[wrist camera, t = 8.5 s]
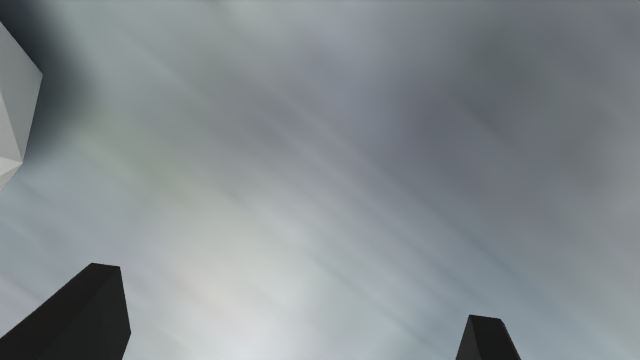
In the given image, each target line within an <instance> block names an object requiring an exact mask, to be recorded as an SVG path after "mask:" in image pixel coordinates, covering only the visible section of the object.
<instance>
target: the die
mask: <svg viewBox="0 0 640 360" xmlns="http://www.w3.org/2000/svg"><path fill="white" fill-rule="evenodd" d="M42 76H43V74H42V73H41V71H40V70H39V69H38V68H37V66H36V65H35V64H34V63H33V62H32V60H31V59H30V58H29V57H28V55H27V54H26V53H25V52H24V50H23V49H22V48H21V47H20V45H19V44H18V43H17V42H16V40H15V39H14V38H13V37H12V36H11V34H10V33H9V32H8V31H7V29H6V28H5V27H4V26H3V24H2V23H1V22H0V191H1V190H2V189H3V188H4V186H5V185H6V184H7V182H8V181H9V180H10V179H11V177H12V176H13V175H14V174H15V172H16V171H17V170H18V168H19V167H20V166H21V165H22V163H23V160H24V155H25V151H26V146H27V142H28V138H29V133H30V129H31V124H32V120H33V116H34V111H35V107H36V102H37V98H38V94H39V89H40V85H41V81H42Z"/></svg>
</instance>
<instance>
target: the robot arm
mask: <svg viewBox="0 0 640 360" xmlns="http://www.w3.org/2000/svg"><path fill="white" fill-rule="evenodd" d="M130 335H131V330H130V324H129V318H128V312H127V306H126V300H125V294H124V288H123V282H122V276H121V270H120V267H119V266H111V265H104V264H97V263H91V264H89V265H88V266H87V267H86V268H84V269H83V270H82V271H81V272H80V273H78V274H77V275H76V276H75V277H74V278H72V279H71V280H70V281H69V282H68V283H67V284H65V285H64V286H63V287H62V288H61V289H60V290H58V291H57V292H56V293H55V294H54V295H53V296H51V297H50V298H49V299H48V300H47V301H45V302H44V303H43V304H42V305H41V306H40V307H38V308H37V309H36V310H35V311H34V312H32V313H31V314H30V315H29V316H27V317H26V318H25V319H24V320H22V321H21V322H20V323H19V324H18V325H16V326H15V327H14V328H13V329H11V330H10V331H9V332H8V333H6V334H5V335H4V336H3V337H1V338H0V360H122V358H123V355H124V352H125V349H126V346H127V343H128V341H129V338H130ZM456 360H521V359H520V357H519V354H518V352H517V350H516V348H515V346H514V344H513V342H512V340H511V338H510V336H509V333H508V331H507V329H506V327H505V325H504V323H503V322H502V321H501V319H498V318H491V317H484V316H476V315H469V317H468V320H467V324H466V327H465V330H464V333H463V337H462V340H461V343H460V347H459V350H458V353H457V357H456Z"/></svg>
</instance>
